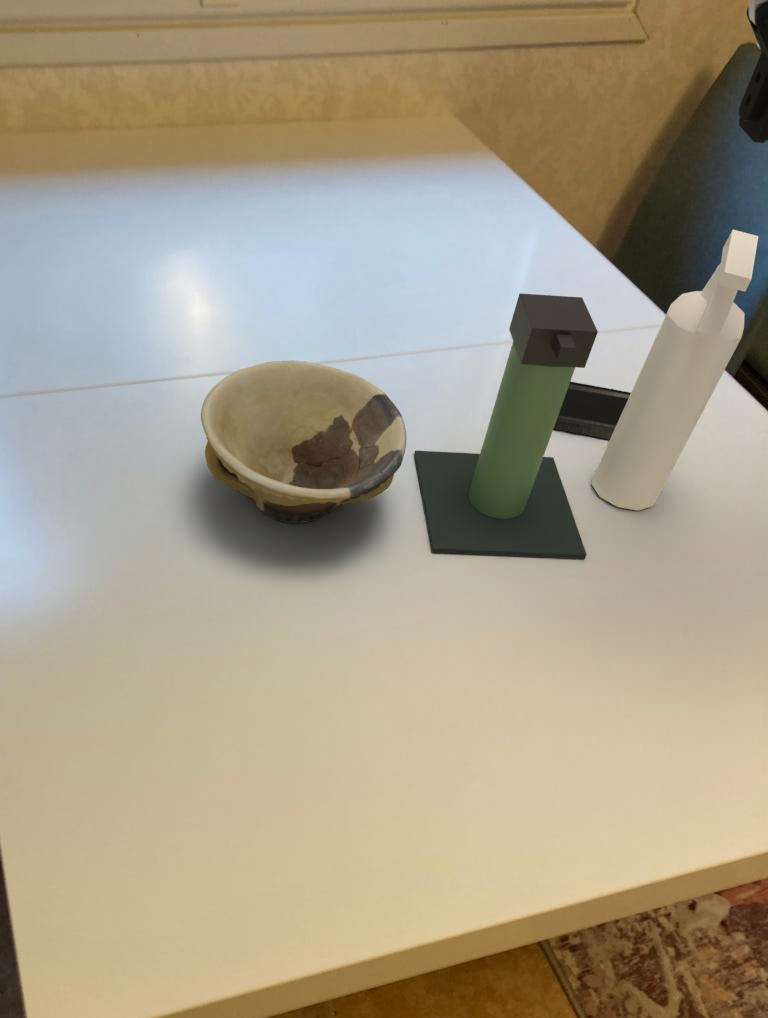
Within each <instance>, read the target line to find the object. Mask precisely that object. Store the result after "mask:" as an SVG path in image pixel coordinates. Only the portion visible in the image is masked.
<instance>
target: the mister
mask: <svg viewBox="0 0 768 1018" xmlns="http://www.w3.org/2000/svg"><path fill="white" fill-rule="evenodd" d="M509 333H510V336H511V339H512V344H511V347H510V350H509V355H508V358H507V361H506V364H505V368H504V371H503V375H502V379H501V382H500V384H499V385H500V386H499V388H498V391H497V395H496V398H495V402H494V405H493V409H492V412H491V415H490V419H489V423H488V425H487V429H486V432H485V436H484V440H483V442H482V446H481V450H480V453H479V454H480V456H479V460H478V463H477V467H476V470H475V473H474V477H473V480H472V484H471V487H470V490H469V500H470V503H471V504H472V506H473V507H474V508H475V509H476V510H478V511H479V512H480V513H482V514H484V515H486V516H489V517H492V518H497V519H510V518H514V517H517V516H519V515H520V514H521V513H522V512H523V511H524V509H525V507H526V504H527V501H528V498H529V496H530V493H531V490H532V487H533V484H534V482H535V479H536V476H537V473H538V470H539V468H540V465H541V462H542V459H543V457H545V453H546V452H547V451H546V450H547V448H548V446H549V443H550V440H551V437H552V434H553V432H554V431H553V430H555V429H554V426H555V423H556V420H557V417H558V415H559V412H560V409H561V406H562V403H563V401H564V398H565V395H566V392H567V389H568V387H569V384H570V382H572V379H573V375H574V373H575V369H576V368H578V369H579V368H581V369H585V368H586V366H587V362H588V360H589V357H590V355H591V352H592V349H593V346H594V344H595V341H596V338H597V336H598V333H599V331H598V329H597V327H596V325H595V322H594V320H593V317H592V316H591V313H590V311H589V309H588V307H587V305H586V303H585V301H584V298H583V297H582V296H564V295H553V294H552V295H550V294H536V293H535V294H534V293H519V294H518V297H517V299H516V304H515V307H514V311H513V314H512V317H511V321H510V326H509Z"/></svg>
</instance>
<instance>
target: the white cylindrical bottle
mask: <svg viewBox="0 0 768 1018" xmlns="http://www.w3.org/2000/svg"><path fill="white" fill-rule="evenodd" d="M758 242H759V235H755V234H751V233H748V232H744V231H740V230H737V229H731V231H730V233H729V236H728V238H727V240H726V241H725V243H724V245H723V247H722V252H721V259H720V263H719V264H718V265H717V267H716V268H715V271H714V272H713V273H712V275H711V277H710V278H709V279H708V281H707V283H706V284H705V285H704V287H703V289H702V290H695V291H694V290H693V291H689V292H684V293H682V294H680V295H679V296H678V297H677V298H676V299H675V300H674V301H672V303H670V306H669V307H668V309H667V312H666V313H665V316H664V319H663V321H662V323H661V324H660V325H661V326H660V327H659V329H658V331H657V334H656V336H655V339H654V340H653V343H652V345H651V347H650V350H649V352H648V354H647V355H646V359H645V361H644V363H643V364H642V368H641V370H640V372H639V374H638V377H637V379H636V381H635V383H634V385H633V387H632V389H631V392H630V393H631V394H630V396H629V399H628V401H627V403H626V405H625V407H624V410H623V412H622V414H621V416H620V419H619V421H618V423H617V425H616V427H615V430H614V432H613V434H612V436H611V439H609V441H608V443H607V446H606V448H605V450H604V452H603V454H602V456H601V458H600V461H599V463H598V465H597V468H596V470H595V472H594V475H593V477H592V479H591V482H590V484H591V486H592V487H593V489H594V490H595V492H596V493H597V495H598V497H599V498H601V499H603V500H605V501H606V502H608V503H610V504H612V505H613V506H615V507H616V508H620V509H627V510H633V511H642V510H645V509H648V508H652V507H654V505H655V504H656V503H657V501H658V498H659V496H660V494H661V493H662V490H663V488H664V487H665V485H666V483H667V481H668V479H669V477H670V475H671V473H672V472H673V470H674V468H675V466H676V464H677V462H678V460H679V459H680V456H681V454H682V452H683V450H684V448H685V447H686V445H687V442H688V441H689V439H690V437H691V436H692V434H693V431H694V429H695V428H696V426H697V424H698V422H699V420H700V418H701V416H702V415H703V412H704V411H705V409H706V407H707V404H708V402H709V401H710V400H711V397H712V395H713V393H714V392H715V389H716V387H717V386H718V384H719V382H720V380H721V378H722V376H723V374H724V372H725V370H726V368H727V366H728V364H729V362H730V360H731V359H732V357H733V355H734V353H735V351H736V349H737V348H738V345H739V343H740V342H741V340H742V339H743V333H744V329H745V312H744V311H743V310H742V309H741V308H740V307H739V306H738V304H736V303H735V299H736V296H737V293H738V291H741V292H744V293H745V292H746V291H747V289H748V287H749V285H750V283H751V282H752V280H753V279H752V278H753V273H754V266H755V260H756V253H757V248H758Z"/></svg>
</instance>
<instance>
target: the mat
mask: <svg viewBox="0 0 768 1018" xmlns="http://www.w3.org/2000/svg"><path fill="white" fill-rule="evenodd" d="M479 456H480V453H473V452H472V453H471V452H455V451H454V452H452V451H432V450H414V454H413V457H414V463H415V468H416V472H417V473H416V475H417V478H418V484H419V489H420V494H421V499H422V500H421V501H422V505H423V510H424V511H423V512H424V516H425V522H426V527H427V532H428V538H429V543H430V548H431V553H432V554H450V555H452V554H453V555H472V556H473V555H474V556H475V555H476V556H495V557H496V556H497V557H499V556H501V557H520V558H521V557H522V558H547V559H573V560H576V559H577V560H585V559H586V557H587V552H586V549H585V545H584V543H583V540H582V536H581V534H580V531H579V528H578V525H577V523H576V520H575V516H574V514H573V510H572V508H571V505H570V502H569V498H568V496H567V493H566V490H565V488H564V484H563V482H562V479H561V476H560V473H559V471H558V467H557V463H556V461H555V458H554V457H552V456H551V457H550V456H543V459H542V462H541V465H540V468H539V470H538V473H537V476H536V479H535V482H534V484H533V487H532V490H531V493H530V496H529V498H528V501H527V504H526V507H525V509H524V511H523V512H522V513H521V514H520V515H519V516H517V517H514V518H510V519H497V518H492V517H489V516H486V515H484V514H482V513H480V512H479V511H478V510H476V509H475V508H474V507H473V506H472V504H471V503H470V500H469V490H470V487H471V484H472V480H473V477H474V473H475V470H476V467H477V463H478V460H479Z"/></svg>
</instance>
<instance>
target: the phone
mask: <svg viewBox="0 0 768 1018" xmlns="http://www.w3.org/2000/svg"><path fill="white" fill-rule="evenodd" d="M630 394H631V392H630V391H624V390H618V389H613V388H609V387H603V386H596V385H593V384H587V383H580V382H576V381H570V384H569V387H568V389H567V392H566V395H565V398H564V401H563V403H562V406H561V409H560V412H559V415H558V417H557V420H556V423H555V426H554V429H553V430H558V431H563V432H568V433H575V434H579V435H580V434H581V435H585V436H589V437H590V436H591V437H595V438H601V439H607V440H610V439H611V436H612V434H613V432H614V430H615V427H616V425H617V423H618V421H619V419H620V416H621V414H622V412H623V410H624V407H625V405H626V403H627V401H628V399H629V396H630Z"/></svg>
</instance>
